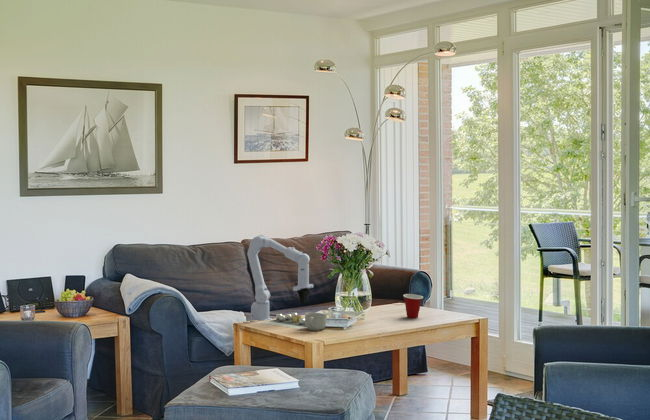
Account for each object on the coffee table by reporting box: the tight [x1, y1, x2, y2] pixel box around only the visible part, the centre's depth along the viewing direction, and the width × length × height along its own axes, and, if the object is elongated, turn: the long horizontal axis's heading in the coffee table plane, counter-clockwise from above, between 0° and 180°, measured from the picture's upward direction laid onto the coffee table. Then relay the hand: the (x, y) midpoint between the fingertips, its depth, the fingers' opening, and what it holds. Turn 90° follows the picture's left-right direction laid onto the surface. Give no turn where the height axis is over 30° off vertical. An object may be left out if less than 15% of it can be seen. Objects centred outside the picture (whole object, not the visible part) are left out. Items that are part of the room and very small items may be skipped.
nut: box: [292, 314, 302, 323], centre depth 441 cm, size 5×4×3 cm
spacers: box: [275, 312, 305, 325], centre depth 442 cm, size 24×13×3 cm, turn 53°
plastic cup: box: [403, 293, 424, 319], centre depth 461 cm, size 11×11×12 cm
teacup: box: [304, 312, 328, 332], centre depth 422 cm, size 14×11×8 cm
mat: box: [262, 319, 307, 330], centre depth 438 cm, size 24×20×1 cm
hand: (303, 303), depth 445 cm, fingers closed
